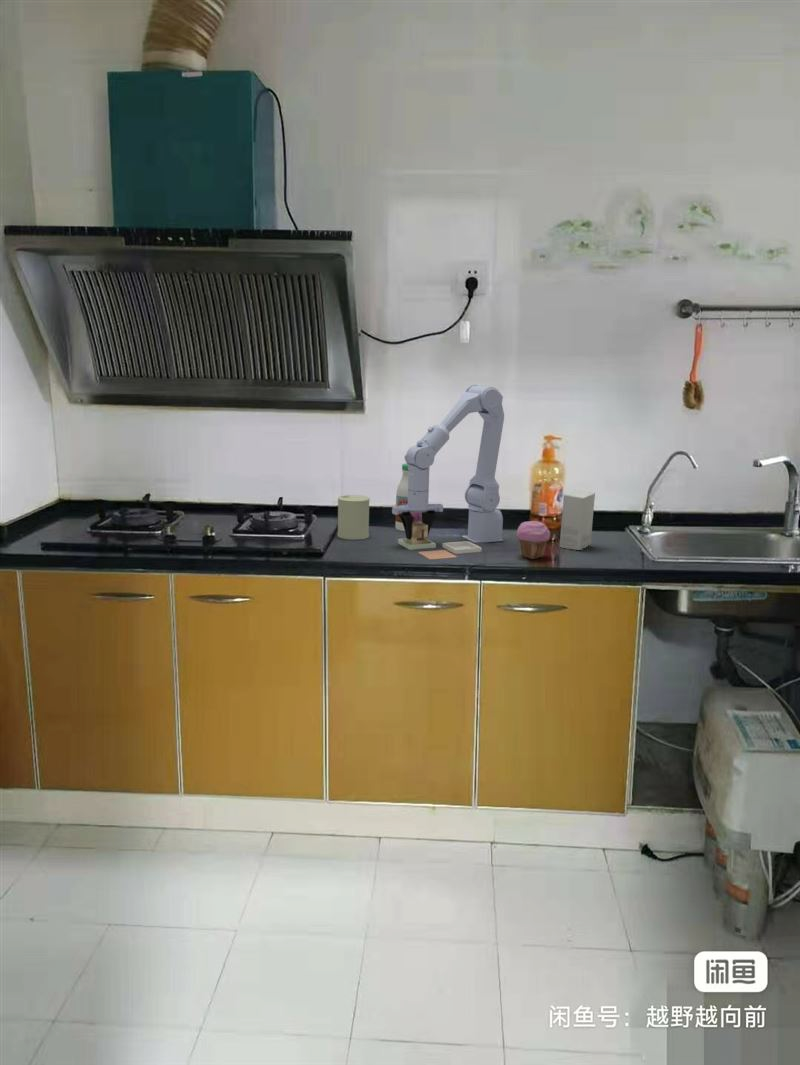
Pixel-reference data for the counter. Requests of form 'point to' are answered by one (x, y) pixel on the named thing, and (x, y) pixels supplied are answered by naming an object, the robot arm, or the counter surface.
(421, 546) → the sage green tray
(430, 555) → the terracotta pad
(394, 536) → the counter surface
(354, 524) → the can
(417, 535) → the brown block
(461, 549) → the light grey tray
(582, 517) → the skincare box
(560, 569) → the counter surface
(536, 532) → the cupcake
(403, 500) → the milk bottle
